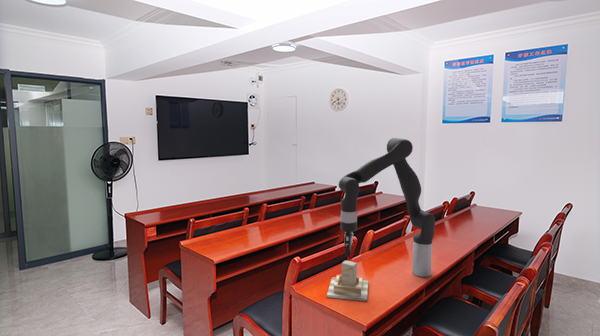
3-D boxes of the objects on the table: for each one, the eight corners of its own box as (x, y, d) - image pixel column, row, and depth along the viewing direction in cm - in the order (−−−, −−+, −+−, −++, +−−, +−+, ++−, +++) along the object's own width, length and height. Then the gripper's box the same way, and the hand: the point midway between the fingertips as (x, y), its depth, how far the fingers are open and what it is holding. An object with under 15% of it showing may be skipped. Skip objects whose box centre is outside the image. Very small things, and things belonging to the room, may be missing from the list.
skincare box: (340, 287, 161) (341, 263, 159) (344, 283, 165) (344, 259, 163) (353, 290, 157) (353, 265, 156) (356, 286, 161) (357, 262, 160)
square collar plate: (332, 279, 172) (332, 271, 171) (368, 283, 168) (368, 275, 167) (326, 297, 154) (326, 288, 154) (366, 301, 150) (367, 292, 150)
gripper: (355, 224, 149) (355, 260, 151) (357, 216, 163) (357, 248, 165) (338, 224, 151) (338, 258, 153) (342, 215, 164) (342, 247, 167)
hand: (348, 253), depth 159 cm, fingers open, 8 cm apart
